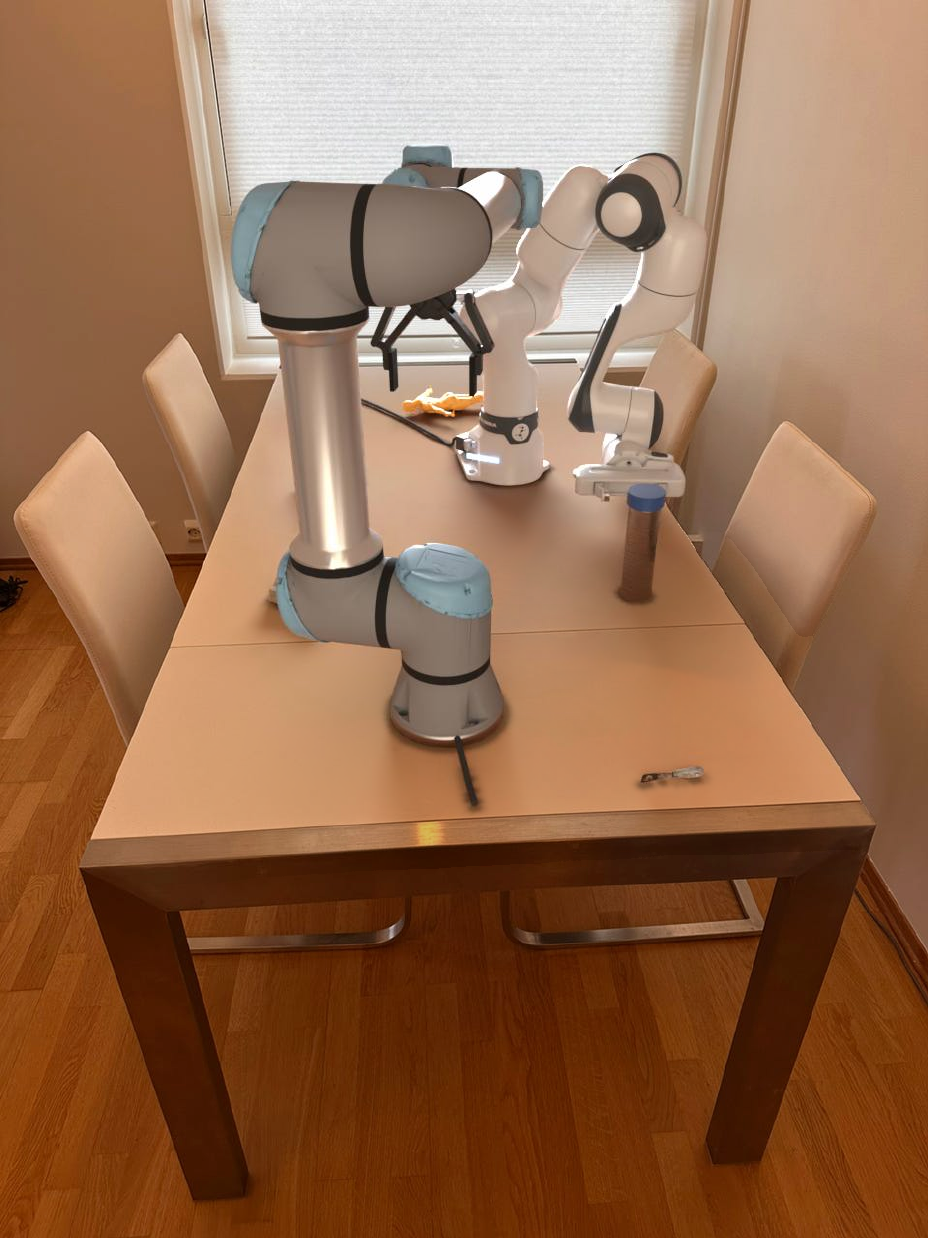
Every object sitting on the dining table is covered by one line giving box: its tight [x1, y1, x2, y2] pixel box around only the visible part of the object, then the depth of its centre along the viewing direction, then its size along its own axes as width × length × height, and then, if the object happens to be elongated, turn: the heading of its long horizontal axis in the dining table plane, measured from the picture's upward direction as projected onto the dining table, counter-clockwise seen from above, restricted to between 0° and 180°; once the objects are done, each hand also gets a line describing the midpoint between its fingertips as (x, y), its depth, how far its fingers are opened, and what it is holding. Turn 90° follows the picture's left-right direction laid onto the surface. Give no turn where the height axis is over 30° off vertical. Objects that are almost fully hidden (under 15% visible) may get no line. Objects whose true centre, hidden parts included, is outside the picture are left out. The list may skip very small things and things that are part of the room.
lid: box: [626, 484, 667, 512], centre depth 138 cm, size 6×6×2 cm
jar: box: [619, 506, 662, 603], centre depth 143 cm, size 5×5×18 cm
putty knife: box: [640, 765, 705, 784], centre depth 109 cm, size 1×8×2 cm, turn 103°
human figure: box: [402, 385, 483, 418], centre depth 225 cm, size 20×20×4 cm
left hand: (433, 391), depth 149 cm, fingers open, 13 cm apart
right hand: (632, 498), depth 161 cm, fingers open, 8 cm apart
